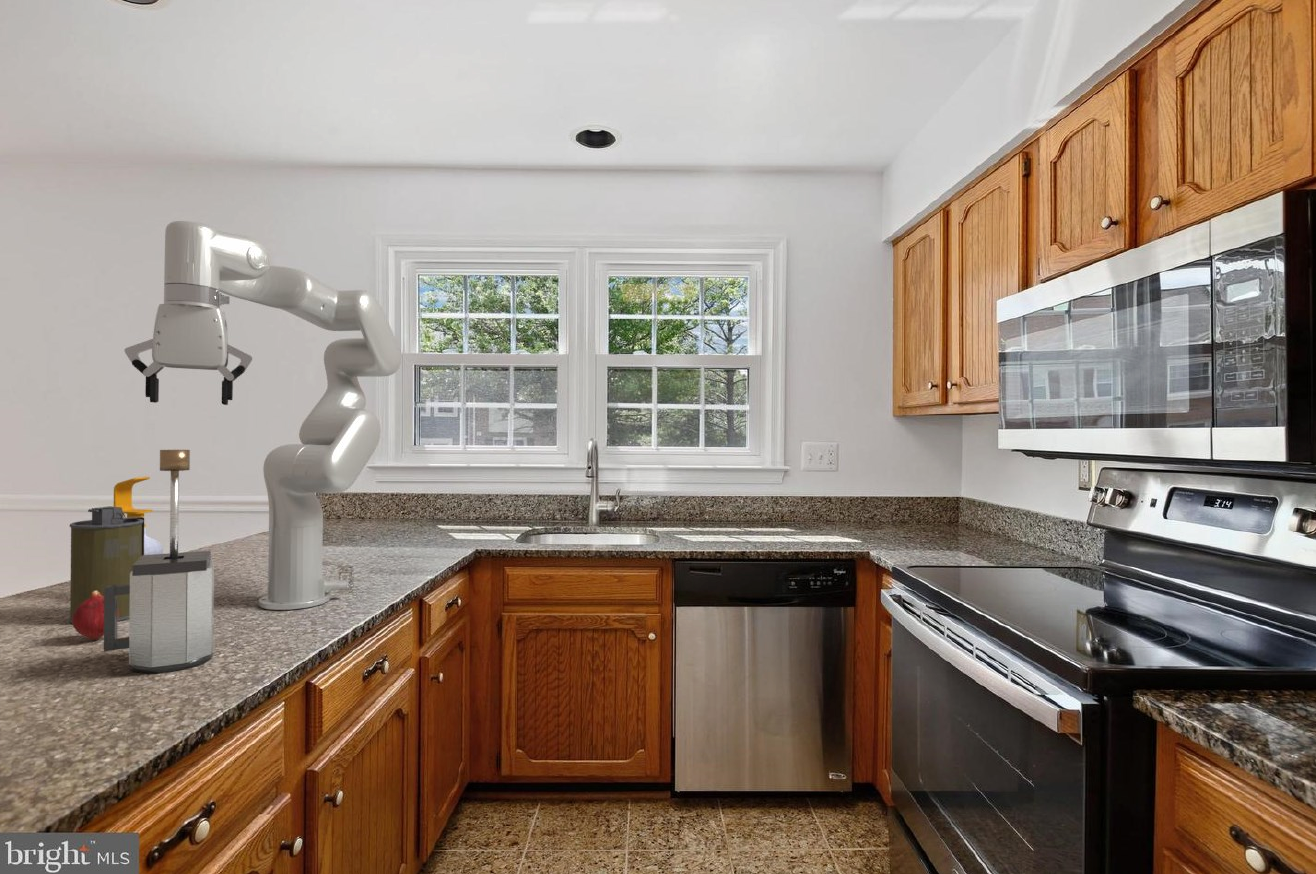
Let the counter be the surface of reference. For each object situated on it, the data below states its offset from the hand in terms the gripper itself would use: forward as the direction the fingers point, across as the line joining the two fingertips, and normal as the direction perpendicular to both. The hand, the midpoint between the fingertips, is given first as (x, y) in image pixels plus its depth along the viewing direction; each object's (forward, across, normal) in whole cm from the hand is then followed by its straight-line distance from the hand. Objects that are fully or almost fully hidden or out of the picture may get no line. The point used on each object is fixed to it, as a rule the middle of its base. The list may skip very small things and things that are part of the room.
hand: (190, 403), depth 111 cm
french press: (+39, +2, +12) cm, 41 cm away
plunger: (+27, 0, +12) cm, 30 cm away
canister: (+39, +14, -21) cm, 47 cm away
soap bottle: (+39, +12, -35) cm, 54 cm away
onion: (+39, +13, -5) cm, 41 cm away
